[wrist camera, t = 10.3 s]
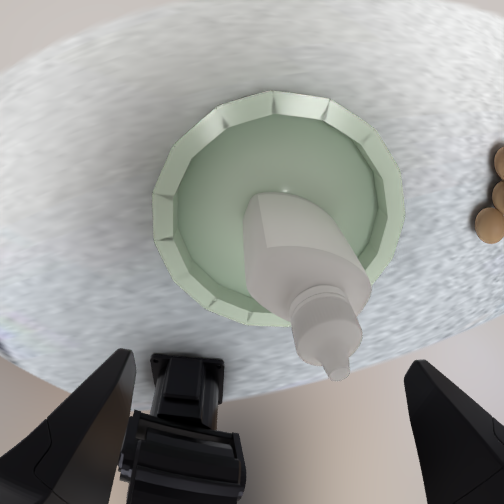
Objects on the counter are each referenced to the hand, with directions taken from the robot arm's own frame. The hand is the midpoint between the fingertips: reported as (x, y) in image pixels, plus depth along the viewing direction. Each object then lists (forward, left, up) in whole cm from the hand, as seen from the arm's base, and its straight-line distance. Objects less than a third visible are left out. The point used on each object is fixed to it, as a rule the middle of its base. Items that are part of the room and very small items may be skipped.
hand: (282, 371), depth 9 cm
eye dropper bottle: (0, -2, -12) cm, 12 cm away
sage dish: (0, -1, -13) cm, 13 cm away
